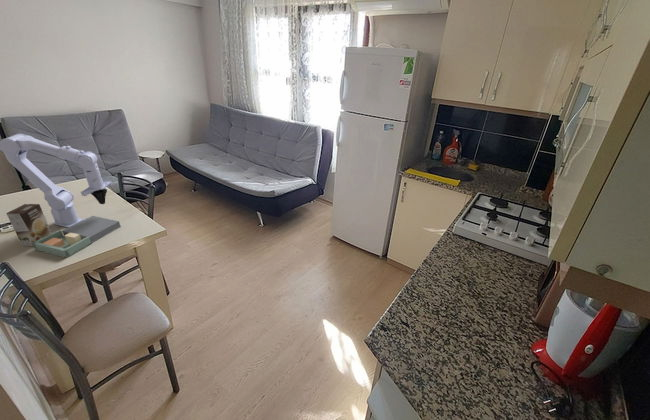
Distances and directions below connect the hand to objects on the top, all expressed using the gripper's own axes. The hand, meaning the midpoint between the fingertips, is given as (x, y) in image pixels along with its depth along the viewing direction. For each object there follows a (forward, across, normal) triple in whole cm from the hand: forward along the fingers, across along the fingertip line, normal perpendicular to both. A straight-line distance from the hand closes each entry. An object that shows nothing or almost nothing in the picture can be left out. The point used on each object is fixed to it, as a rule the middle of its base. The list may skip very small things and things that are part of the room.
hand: (102, 203), depth 145 cm
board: (+9, -10, -3) cm, 14 cm away
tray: (+9, -24, -3) cm, 26 cm away
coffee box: (+10, -24, +12) cm, 28 cm away
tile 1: (+6, -26, 0) cm, 26 cm away
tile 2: (+6, -20, -7) cm, 22 cm away
